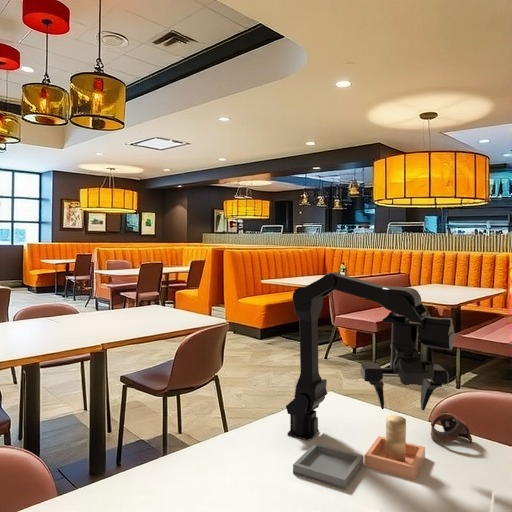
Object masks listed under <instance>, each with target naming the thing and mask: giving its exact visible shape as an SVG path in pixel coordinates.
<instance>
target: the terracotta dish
mask: <svg viewBox="0 0 512 512" xmlns="http://www.w3.org/2000/svg"><path fill="white" fill-rule="evenodd" d="M425 458H426V446H423V445H420V444H419V445H418V444H414V443H410V442H406V453H405V463H403V462H399V461H396V460H392V459H388V458H386V436H385V437H384V436H381V435H378V436H377V438H376V439H375V441H374V442H373V443H372V444H371V446H370V447H369V448H368V450H367V451H366V453H365V454H364V466H365V467H369V468H372V469H375V470H378V471H383V472H387V473H389V474H390V473H391V474H394V475H398V476H401V477H405V478H408V479H411V480H416V477H417V476H418V473H419V471H420V469H421V468H422V465H423V462H424V461H425Z"/></svg>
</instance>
